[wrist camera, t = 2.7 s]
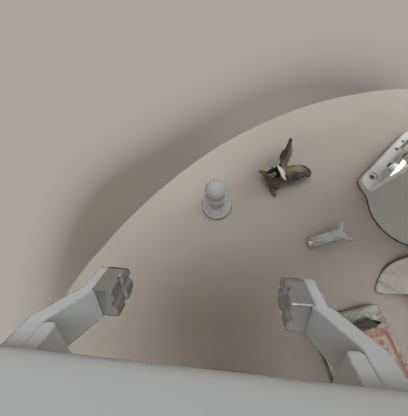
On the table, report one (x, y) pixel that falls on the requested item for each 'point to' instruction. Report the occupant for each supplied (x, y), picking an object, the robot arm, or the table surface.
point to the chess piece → (216, 200)
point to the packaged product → (374, 332)
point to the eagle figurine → (285, 169)
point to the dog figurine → (329, 236)
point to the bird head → (394, 278)
